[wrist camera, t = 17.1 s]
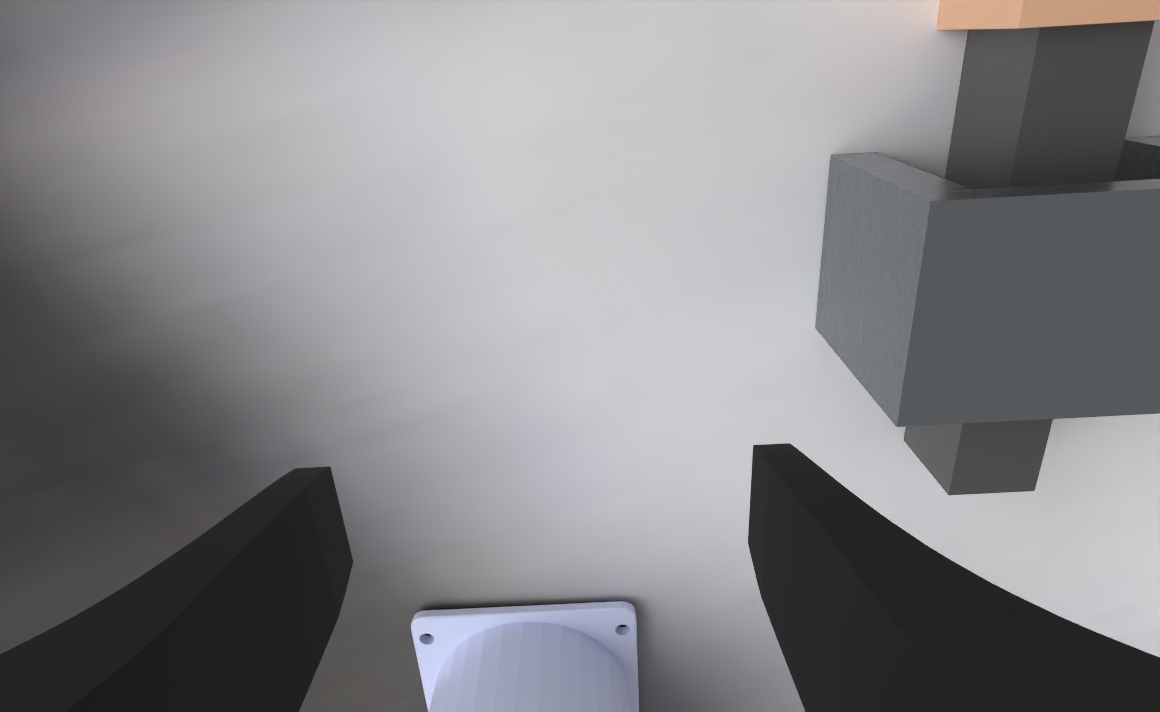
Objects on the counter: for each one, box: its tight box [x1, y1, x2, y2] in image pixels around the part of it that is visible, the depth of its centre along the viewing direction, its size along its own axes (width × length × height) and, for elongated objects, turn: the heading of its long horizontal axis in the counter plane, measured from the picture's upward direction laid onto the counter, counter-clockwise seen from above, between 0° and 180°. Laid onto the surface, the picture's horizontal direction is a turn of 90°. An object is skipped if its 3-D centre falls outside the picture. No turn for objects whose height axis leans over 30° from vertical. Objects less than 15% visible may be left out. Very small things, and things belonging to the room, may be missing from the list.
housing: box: [815, 136, 1160, 427], centre depth 17 cm, size 5×11×6 cm, turn 93°
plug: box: [904, 0, 1160, 495], centre depth 17 cm, size 17×4×4 cm, turn 3°
